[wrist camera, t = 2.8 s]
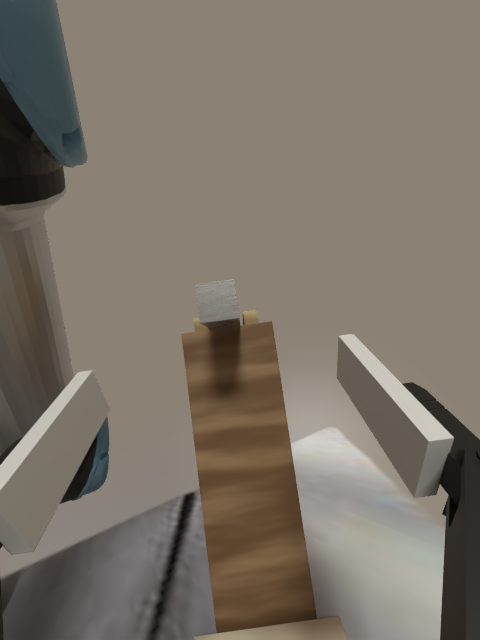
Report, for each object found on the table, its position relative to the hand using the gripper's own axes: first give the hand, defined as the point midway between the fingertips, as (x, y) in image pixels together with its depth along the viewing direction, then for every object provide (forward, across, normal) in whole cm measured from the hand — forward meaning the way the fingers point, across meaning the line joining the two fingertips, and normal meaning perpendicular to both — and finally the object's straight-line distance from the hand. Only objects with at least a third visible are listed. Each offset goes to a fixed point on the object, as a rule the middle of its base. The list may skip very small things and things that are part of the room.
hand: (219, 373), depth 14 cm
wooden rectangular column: (+6, 0, -34) cm, 35 cm away
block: (+16, 0, -6) cm, 17 cm away
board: (-13, 0, -23) cm, 27 cm away
